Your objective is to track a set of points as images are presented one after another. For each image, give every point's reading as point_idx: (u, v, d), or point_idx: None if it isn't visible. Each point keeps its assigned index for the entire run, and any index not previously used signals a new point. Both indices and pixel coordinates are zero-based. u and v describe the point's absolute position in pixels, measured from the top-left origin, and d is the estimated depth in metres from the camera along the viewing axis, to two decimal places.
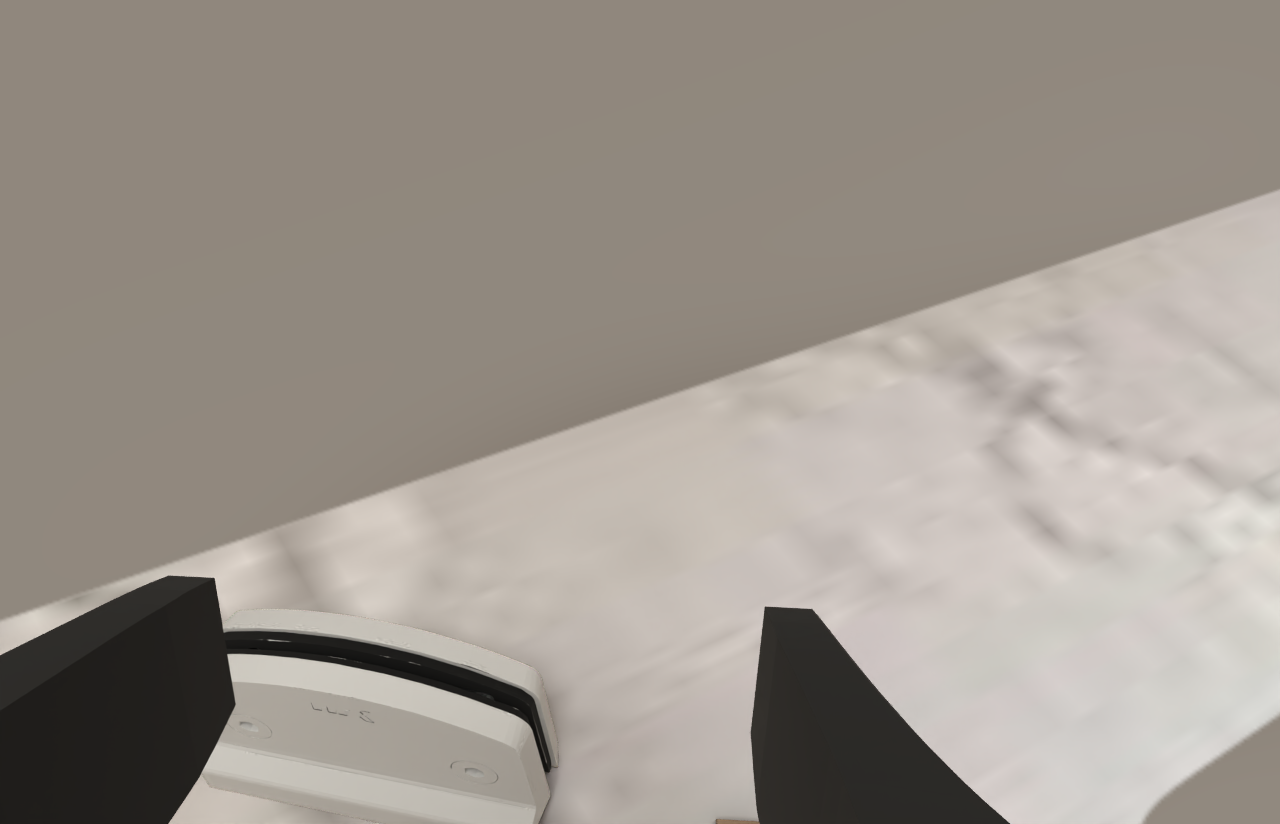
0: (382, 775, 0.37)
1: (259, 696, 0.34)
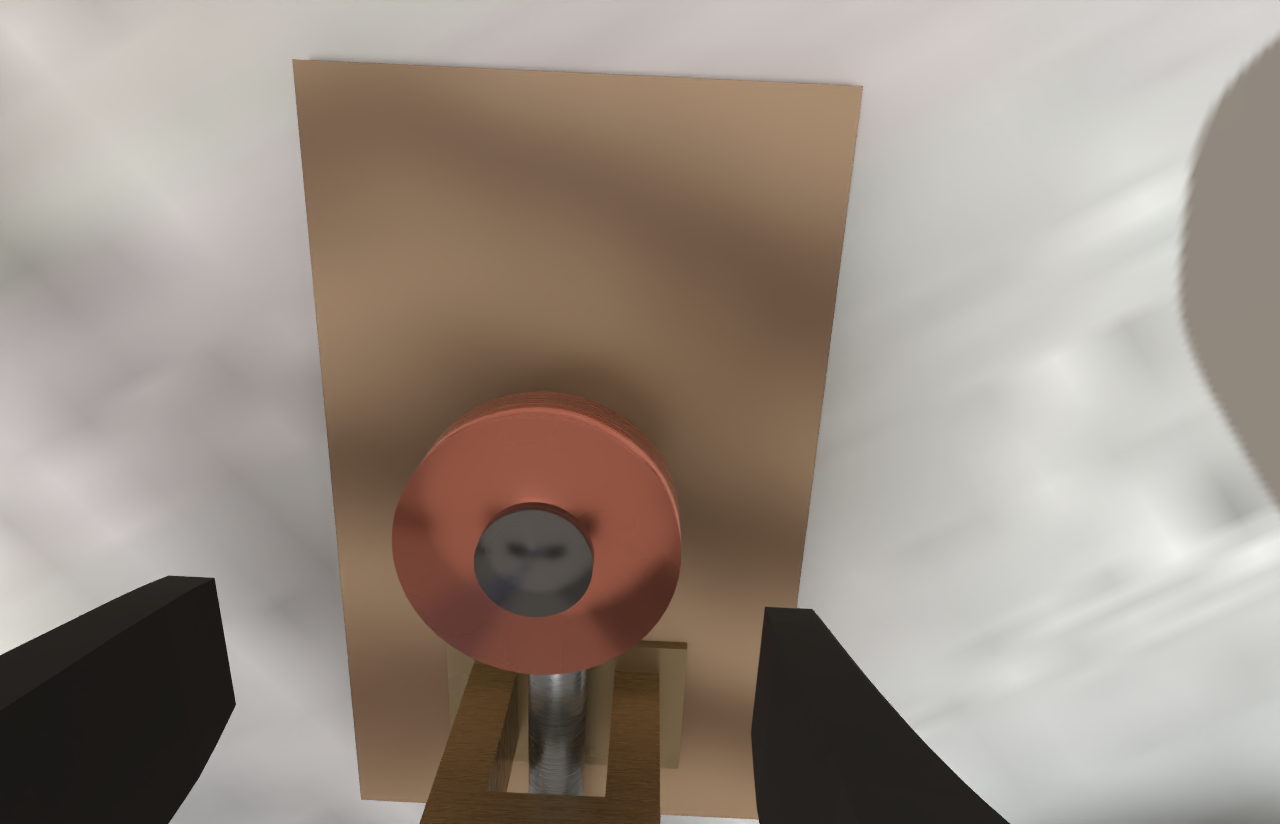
0: None
1: None
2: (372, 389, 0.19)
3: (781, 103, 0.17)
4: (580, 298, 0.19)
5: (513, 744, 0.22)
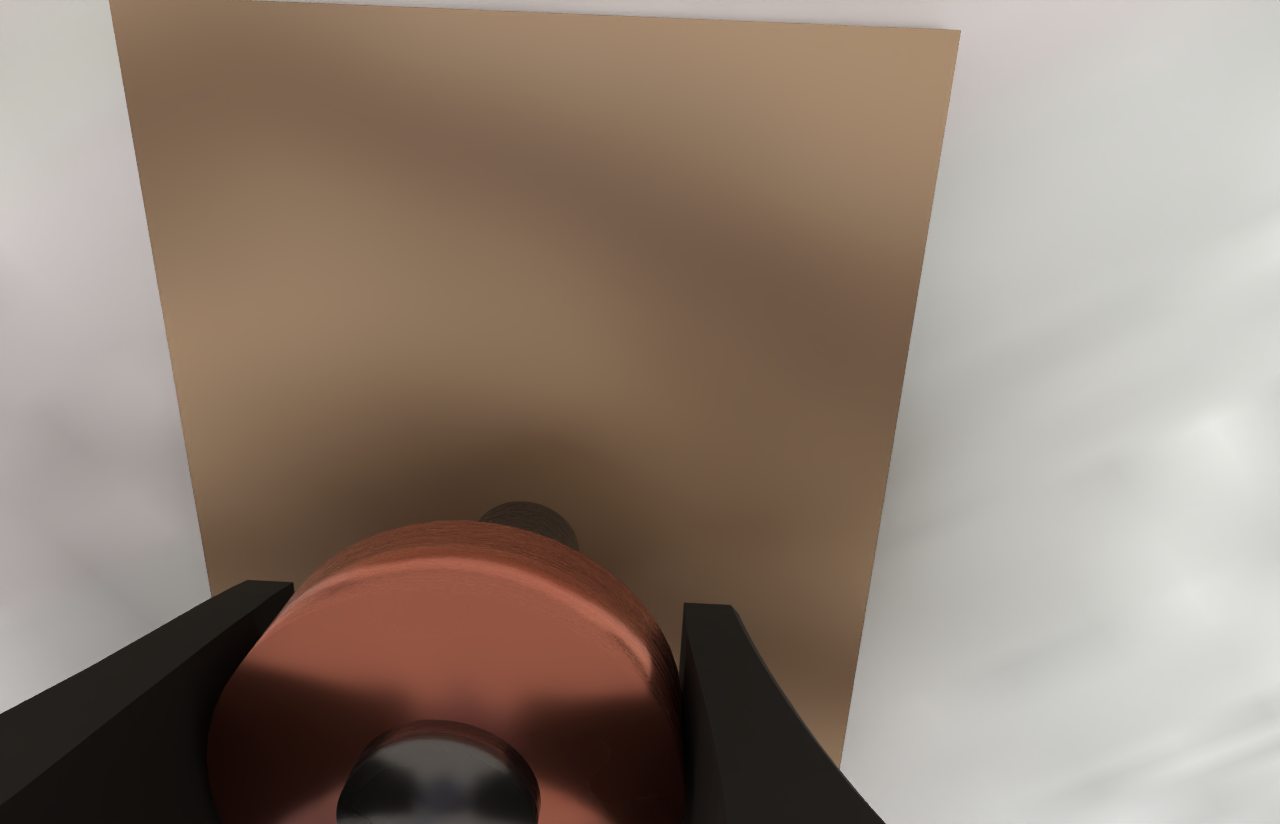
0: None
1: None
2: (257, 465, 0.14)
3: (838, 57, 0.11)
4: (543, 342, 0.13)
5: None
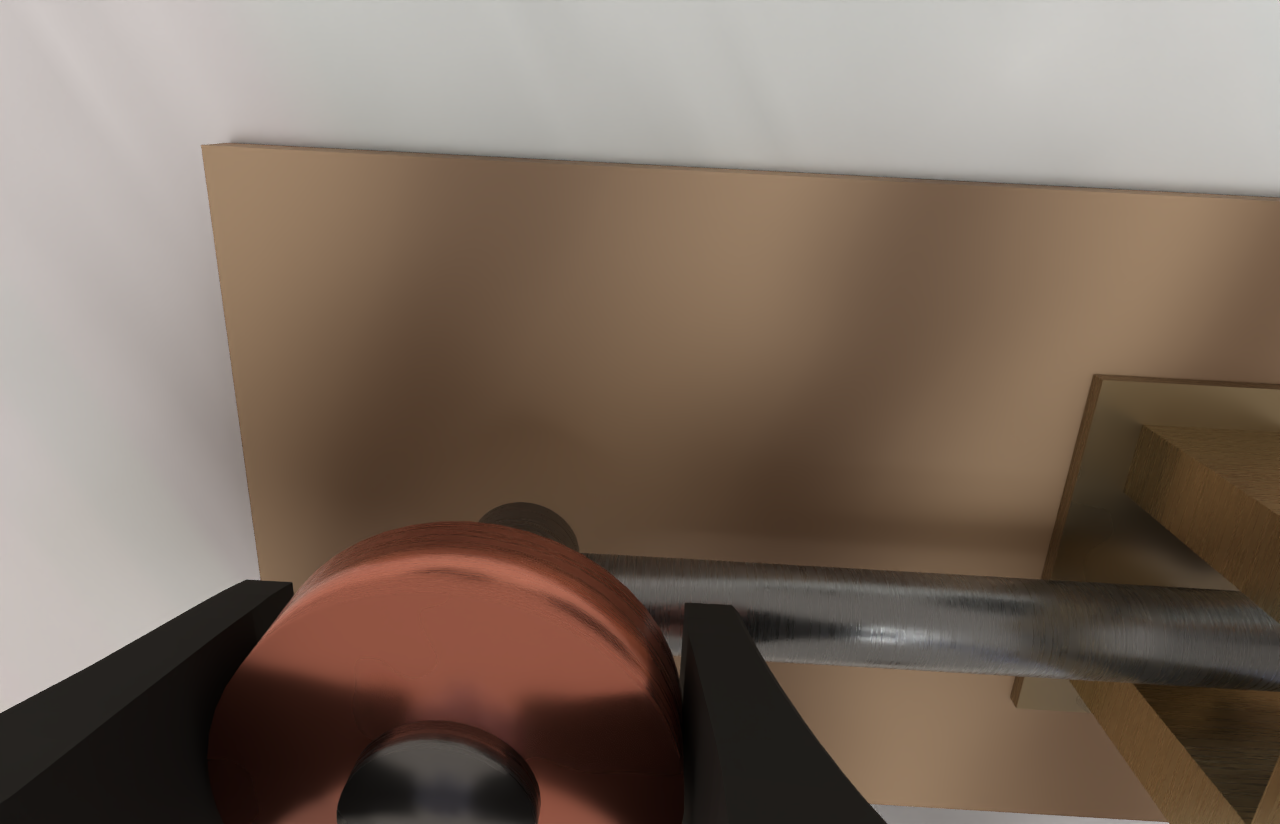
0: None
1: None
2: None
3: (242, 257, 0.13)
4: None
5: None
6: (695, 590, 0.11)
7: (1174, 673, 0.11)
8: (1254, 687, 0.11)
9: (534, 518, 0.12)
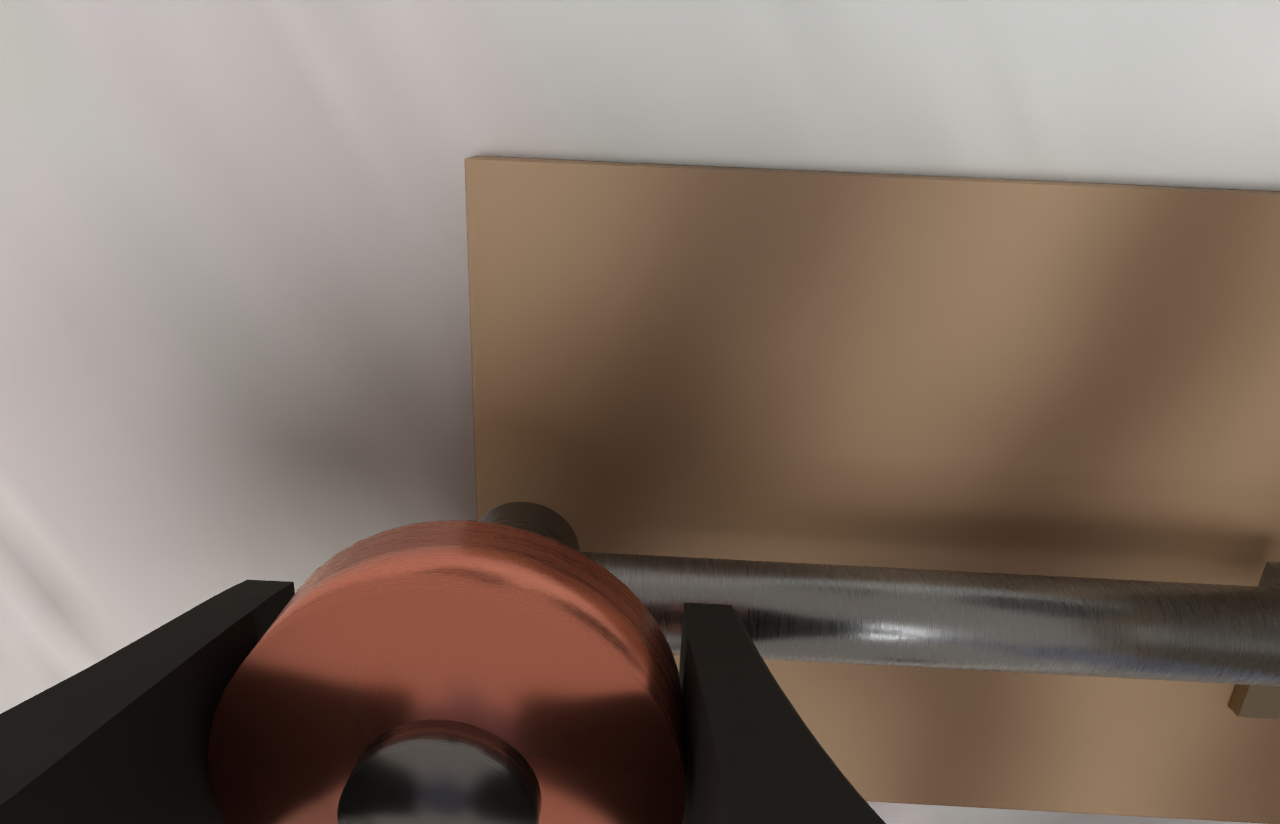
0: None
1: None
2: (853, 753, 0.16)
3: (494, 270, 0.13)
4: (751, 521, 0.14)
5: None
6: (695, 588, 0.11)
7: (1176, 668, 0.11)
8: (1256, 682, 0.11)
9: (534, 517, 0.12)
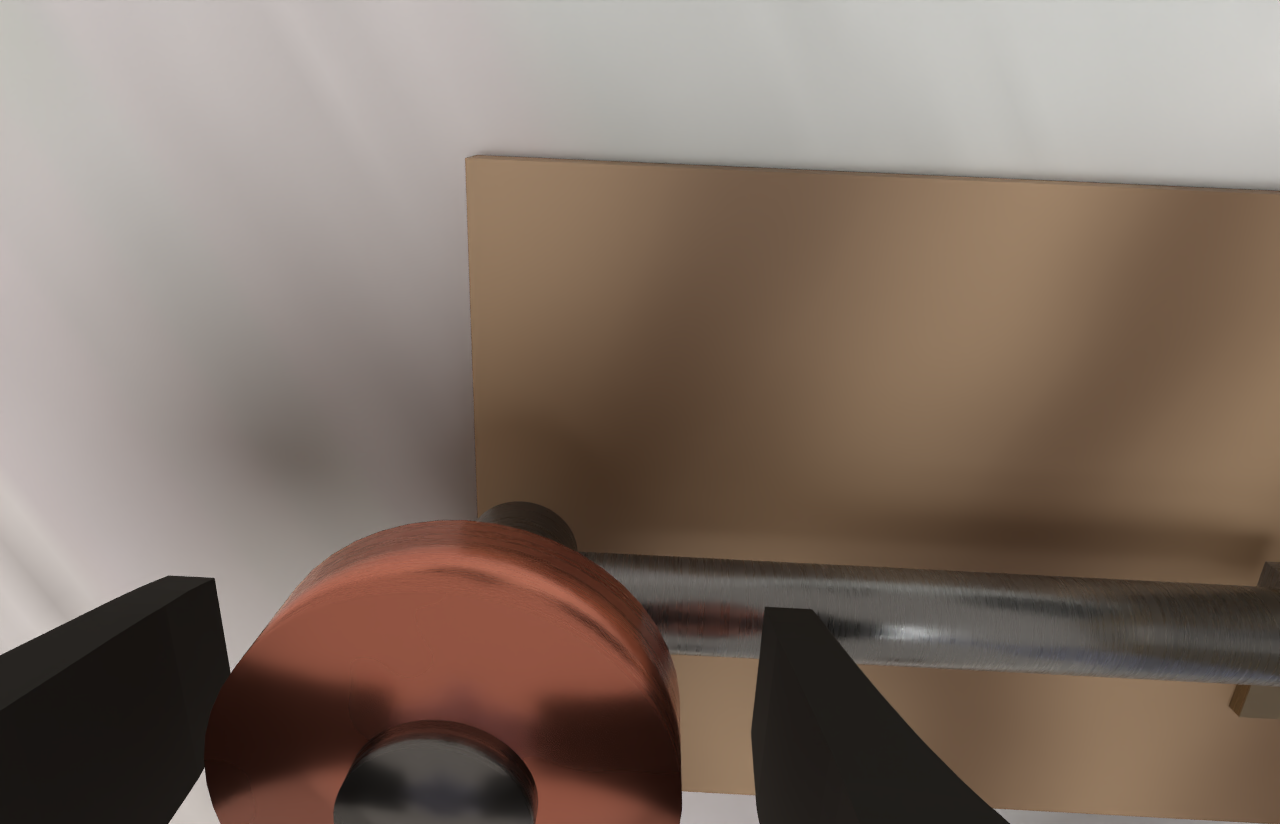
0: None
1: None
2: None
3: (494, 269, 0.13)
4: (751, 521, 0.14)
5: None
6: (693, 588, 0.11)
7: (1175, 668, 0.11)
8: (1255, 682, 0.11)
9: (532, 517, 0.12)
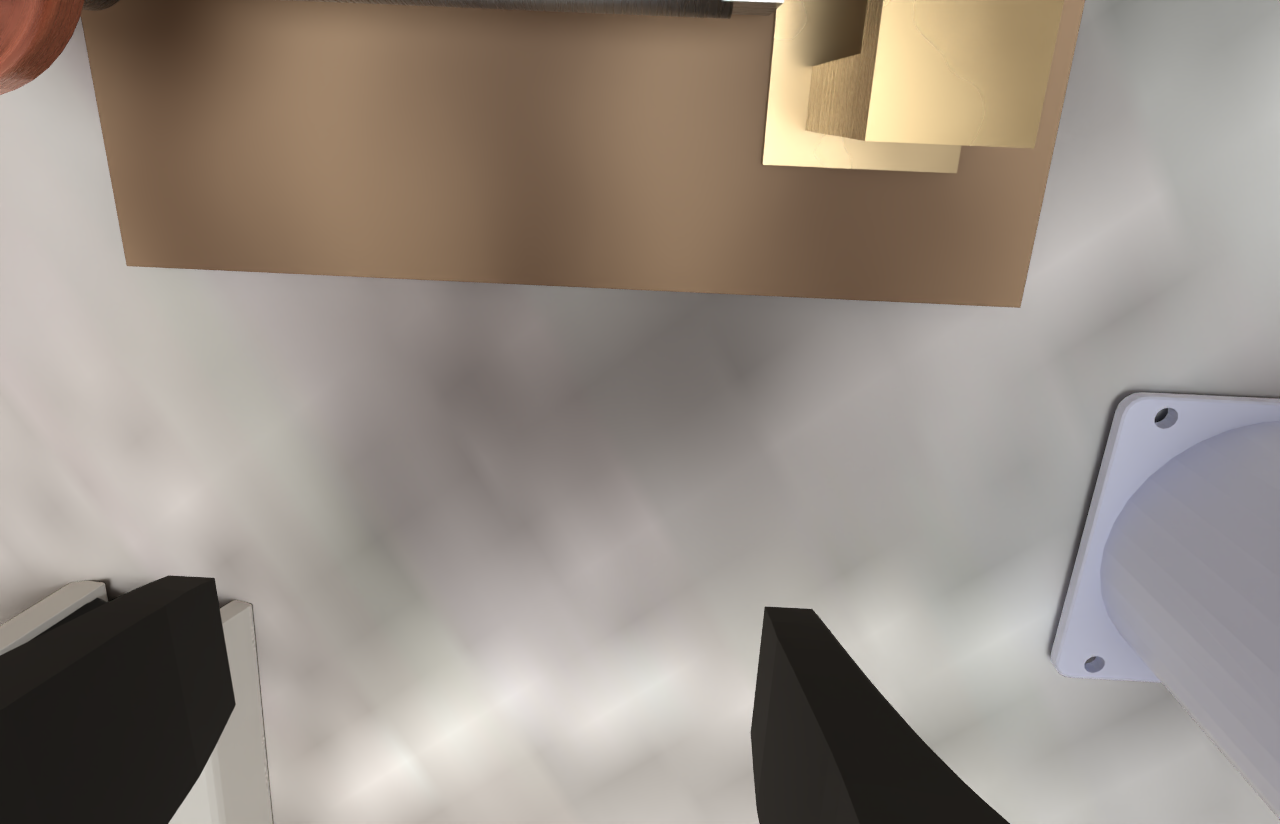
0: None
1: None
2: (444, 226, 0.18)
3: None
4: None
5: None
6: None
7: None
8: None
9: None
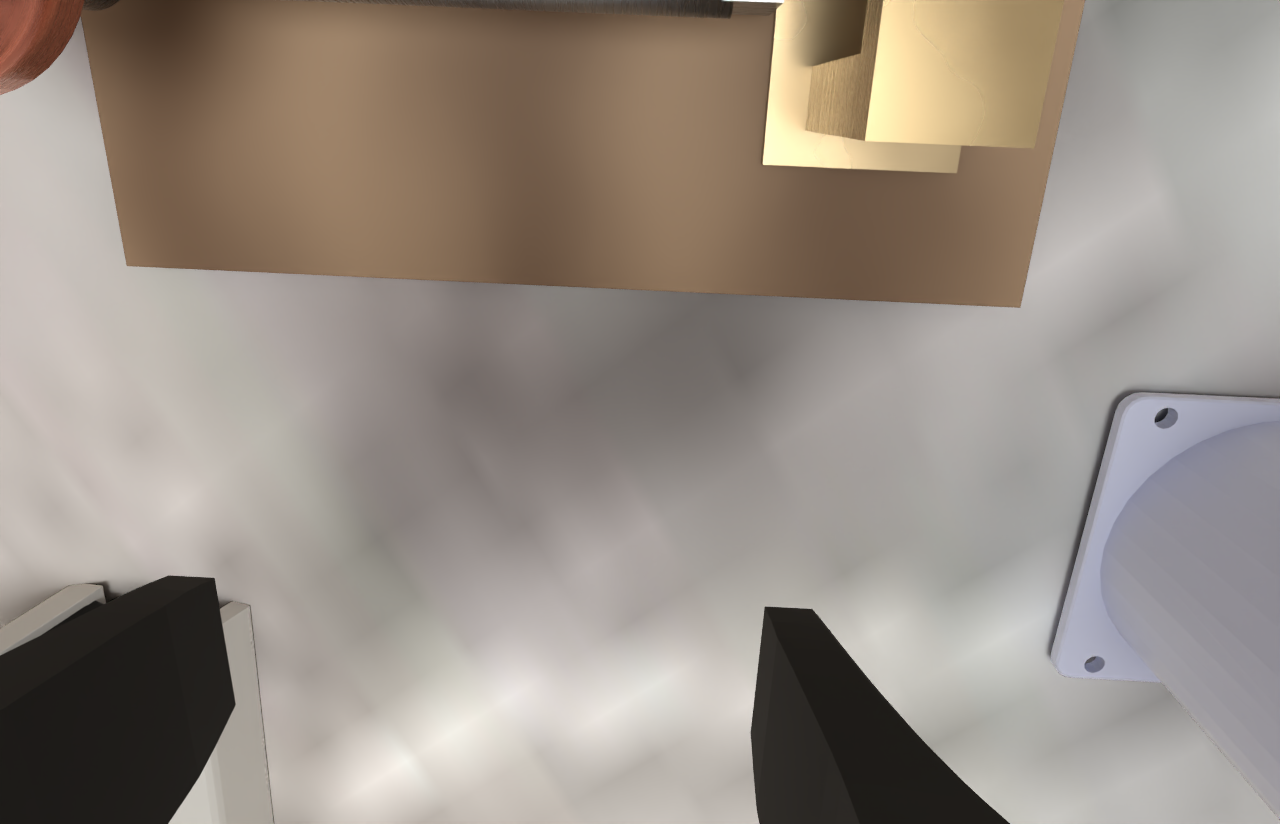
0: None
1: None
2: (444, 226, 0.18)
3: None
4: None
5: None
6: None
7: None
8: None
9: None
